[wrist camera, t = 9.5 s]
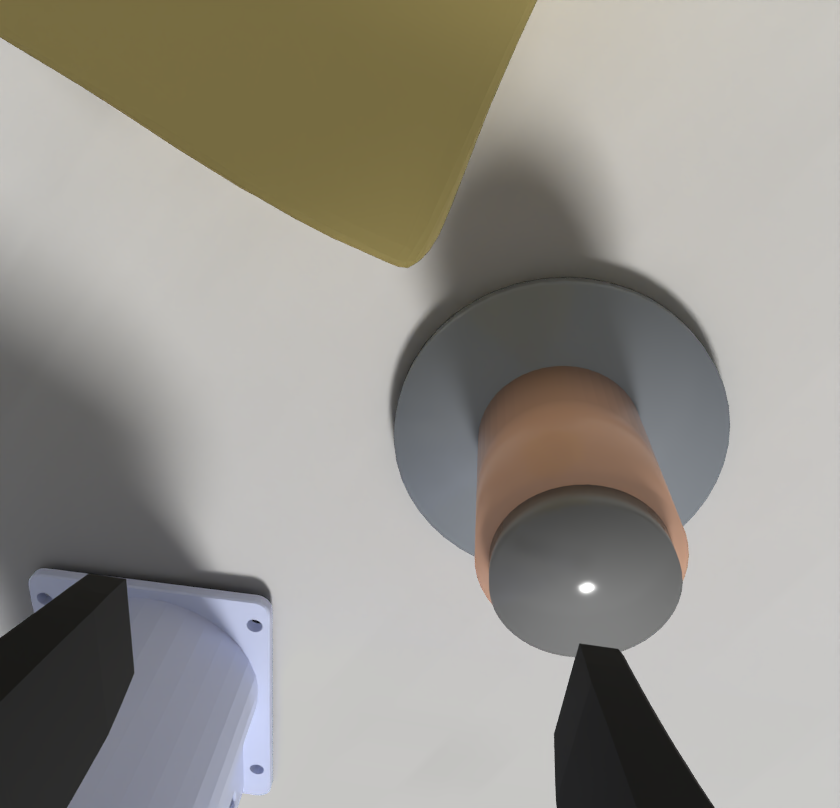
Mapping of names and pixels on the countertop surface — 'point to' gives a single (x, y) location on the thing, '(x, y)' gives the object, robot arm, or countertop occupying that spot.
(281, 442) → the countertop surface
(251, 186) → the cheese
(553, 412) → the spice jar
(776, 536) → the countertop surface
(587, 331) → the coaster
